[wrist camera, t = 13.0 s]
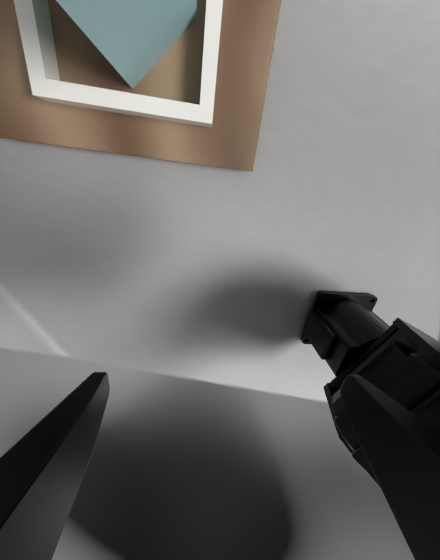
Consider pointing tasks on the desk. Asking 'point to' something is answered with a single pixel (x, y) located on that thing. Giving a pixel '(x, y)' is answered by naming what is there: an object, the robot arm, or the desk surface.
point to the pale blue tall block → (132, 30)
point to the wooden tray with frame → (140, 85)
